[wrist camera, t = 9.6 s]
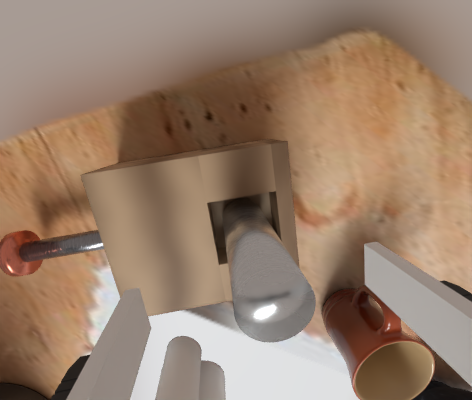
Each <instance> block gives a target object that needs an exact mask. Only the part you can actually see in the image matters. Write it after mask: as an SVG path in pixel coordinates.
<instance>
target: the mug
mask: <svg viewBox="0 0 472 400" xmlns="http://www.w3.org/2000/svg"><path fill="white" fill-rule="evenodd" d="M369 295H370V296H371V297H372V298H373V299H374V300H375V301H376V302H377V303H378V304H379V305H380V307H381V308H380V307H379V306H378V304H377V303H376V302H375V301H374V300H373V299H372V298H371V297H370V296H369ZM322 318H323V321H324V325H325V327H326V330H327V333H328V334H329V336H330V337H331V339H332V340H333V342H334V344H335V346H336V347H337V349H338V350H339V352H340V353H341V355H342V357H343V358H344V360H345V362H346V364H347V367H348V370H349V374H350V378H351V383H352V387H353V389H354V392H355V394H356V396H357V397H358V398H359V399H360V400H412V399H413V398H415V397H416V396H418V395H419V394H420V393H421V392H422V391H423V390H424V389H425V388H426V387H427V386H428V384H429V383H430V381H431V379H432V377H433V374H434V371H435V359H434V356H433V354H432V352H431V351H430V349H429V348H428V347H427V346H426V345H424V344H423V343H421V342H420V341H418V340H416V339H415V338H413V337H411V336H410V335H408V334H406V333H405V332H403V331H402V328H401V318H399V317H398V316H397V315H396V314H395V313H394V312H393V311H392V310H391V309H390V308H389V307H388V306H387V305H386V304H385V303H384V302H383V301H382V300H381V299H380V298H379V297H378V296H377V295H375V294H374V293H373V292H372V291H371V290H370V289H369V288H368V287H367V286H366V285H363V286H360V287H359V288H358V289H344V290H340V291H337V292H336V293H334V294H333V295H332V296H331V297H329V299H328V300H327V301H326V303H325V304H324V307H323V310H322Z"/></svg>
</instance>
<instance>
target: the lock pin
mask: <svg viewBox="0 0 472 400" xmlns="http://www.w3.org/2000/svg"><path fill="white" fill-rule="evenodd" d="M101 249H104V246H103V243H102V240H101V237H100V234H99V231H98V230H95V231H89V232H83V233H77V234H72V235H66V236H60V237H54V238H48V239H43V240H40V238H39V237H38V236H37V235H36V234H35V233H33V232H31V231H19V232H13V233H10V234H8V235H6V236H5V237H4V238H3V239H2V240H1V242H0V267H1V269H2V270H3V271H4V272H5V273H6V274H8V275H10V276H23V275H28V274H32V273H34V272H35V271H36V270H38V268H39V267H40V266H41V264H42V261H43V260H44V259H49V258H55V257H61V256H66V255H72V254H78V253H84V252H89V251H95V250H101Z"/></svg>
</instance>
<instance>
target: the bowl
mask: <svg viewBox="0 0 472 400" xmlns="http://www.w3.org/2000/svg"><path fill="white" fill-rule="evenodd" d="M412 400H472V392H470V391H466V390H463V389H459V388H451V387H449V386H447V385H445V384H443V383H441V382H438V381H430V383H429V384H428V386H427V387H426V388H425V389H424V390H423V391H422V392H421V393H420V394H419V395H418V396H416V397H415V398H413V399H412Z"/></svg>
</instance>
